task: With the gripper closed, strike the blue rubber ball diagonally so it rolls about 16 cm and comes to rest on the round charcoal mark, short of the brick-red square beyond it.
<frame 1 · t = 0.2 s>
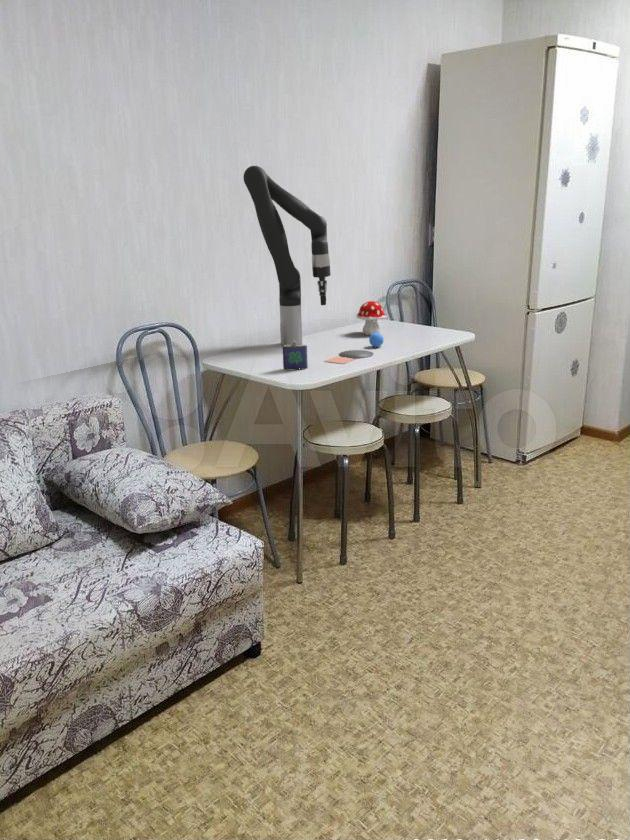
hand: (323, 303, 304), 17 cm above the table, tool pointing down, fingers open, 8 cm apart
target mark: (356, 354, 288), on the table
decorative mushroom: (371, 334, 327), on the table
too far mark: (340, 360, 278), on the table
flask: (295, 369, 268), on the table
ball: (376, 339, 299), on the table
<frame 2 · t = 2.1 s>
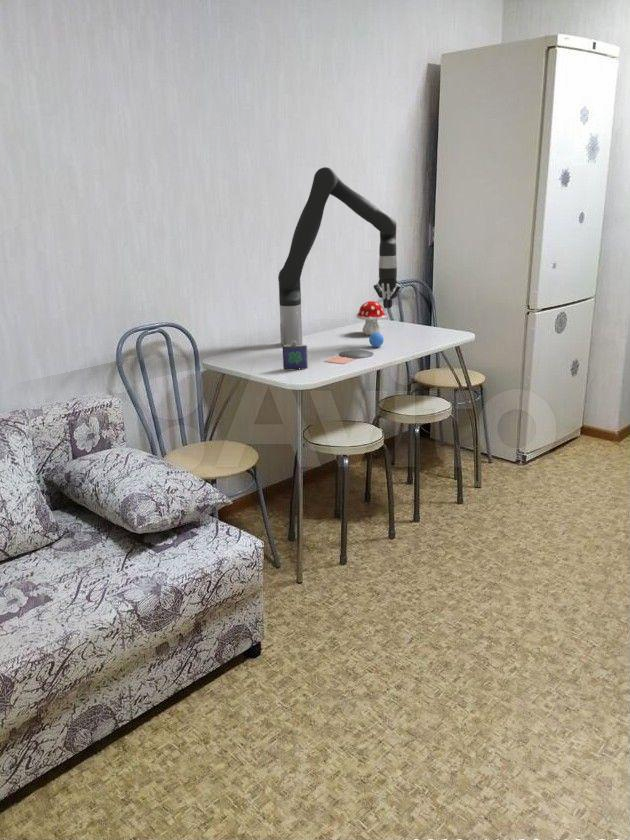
hand: (387, 307, 303), 15 cm above the table, tool pointing down, fingers closed
nothing on the table moved.
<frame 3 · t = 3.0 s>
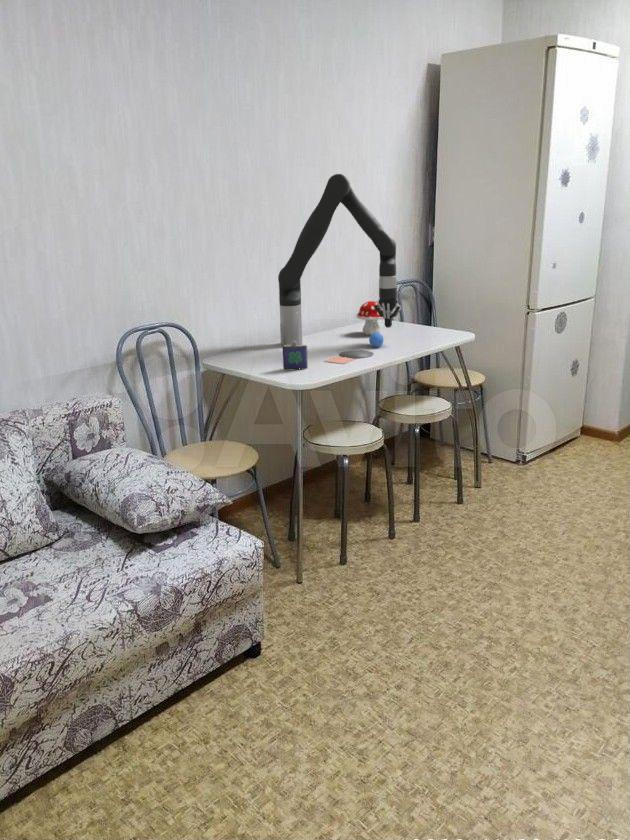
hand: (388, 327, 305), 7 cm above the table, tool pointing down, fingers closed
nothing on the table moved.
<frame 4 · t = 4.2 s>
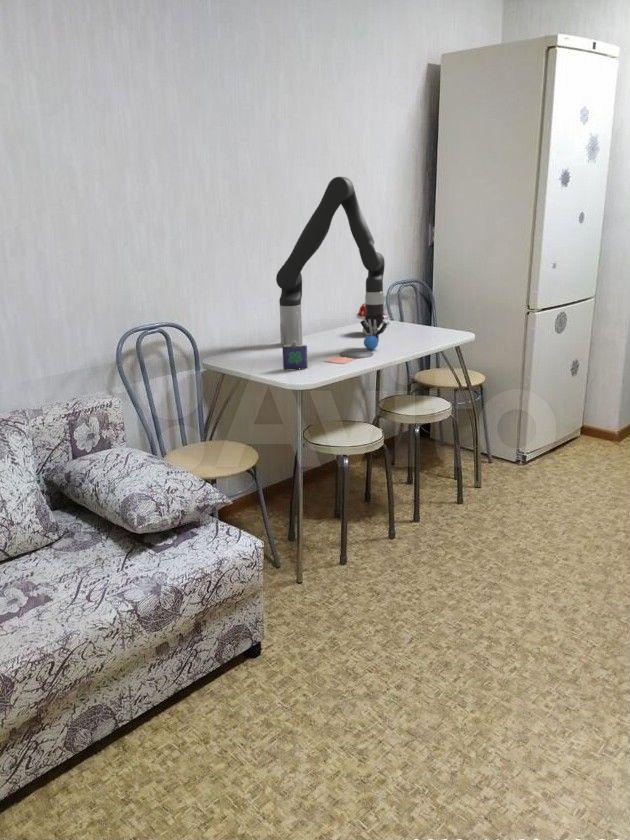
hand: (374, 343, 299), 2 cm above the table, tool pointing down, fingers closed
ball: (371, 342, 295), on the table
everything else where it was.
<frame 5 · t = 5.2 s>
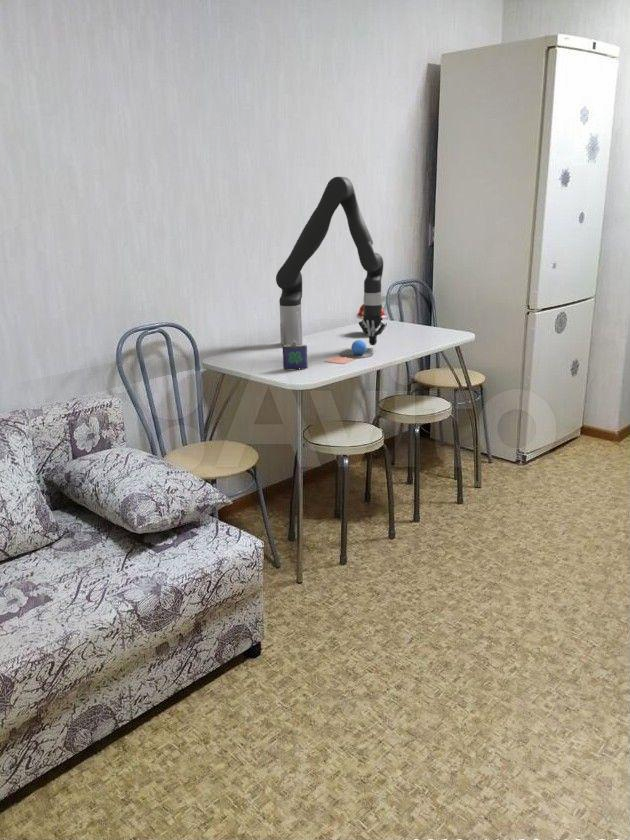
hand: (372, 344, 297), 2 cm above the table, tool pointing down, fingers closed
ball: (358, 347, 286), on the table
everything else where it was.
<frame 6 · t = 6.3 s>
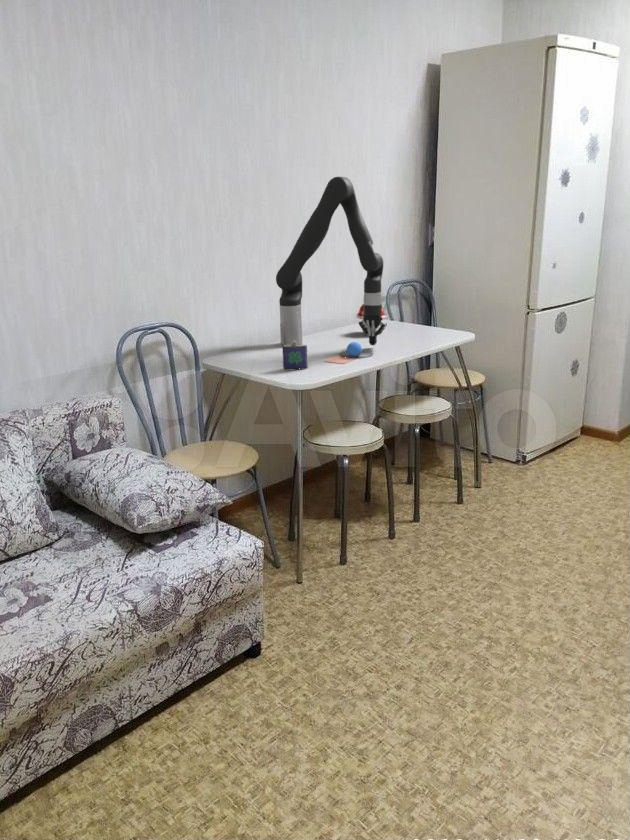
hand: (372, 344, 297), 2 cm above the table, tool pointing down, fingers closed
ball: (354, 349, 282), on the table
everything else where it was.
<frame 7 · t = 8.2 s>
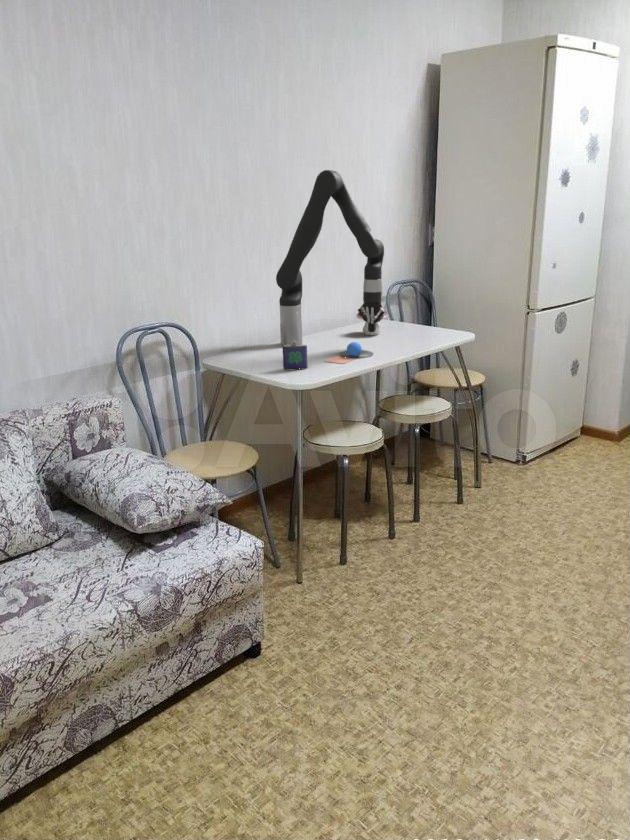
hand: (371, 332, 295), 7 cm above the table, tool pointing down, fingers closed
nothing on the table moved.
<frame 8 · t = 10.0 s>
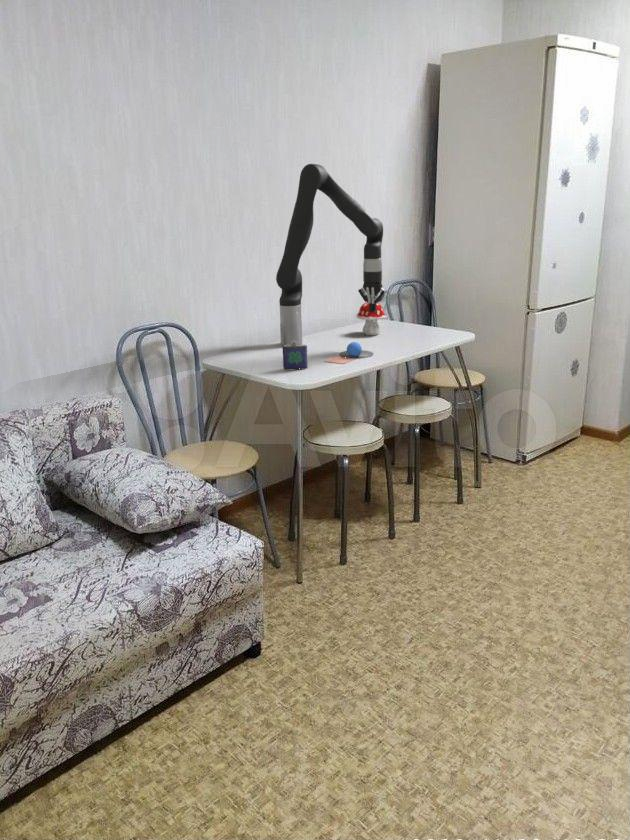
hand: (372, 312, 293), 15 cm above the table, tool pointing down, fingers closed
nothing on the table moved.
at the end: ball 4.6 cm from the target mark (horizontally); ball at rest at the end (0.0 cm/s); ball moved 20.3 cm from its start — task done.
